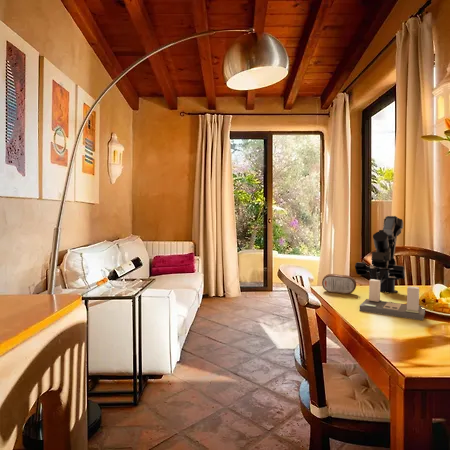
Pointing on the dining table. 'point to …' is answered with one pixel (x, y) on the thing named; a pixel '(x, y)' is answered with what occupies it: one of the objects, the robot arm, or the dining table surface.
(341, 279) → the tin
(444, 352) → the dining table surface
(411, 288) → the tab grey
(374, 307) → the switch bank
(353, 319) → the dining table surface
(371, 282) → the tab offwhite
